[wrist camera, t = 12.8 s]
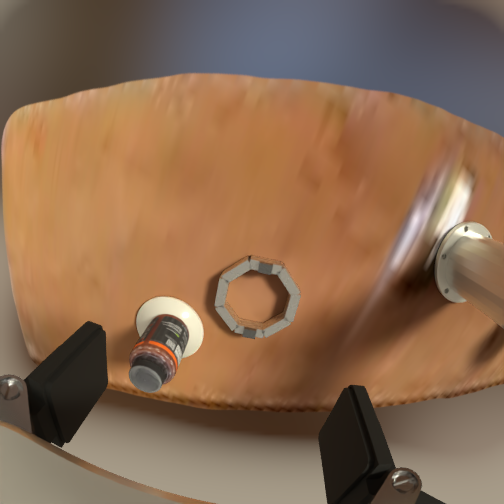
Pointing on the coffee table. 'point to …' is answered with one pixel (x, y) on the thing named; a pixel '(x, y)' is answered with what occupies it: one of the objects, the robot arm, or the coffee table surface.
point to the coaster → (177, 309)
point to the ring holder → (248, 326)
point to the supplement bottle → (158, 353)
